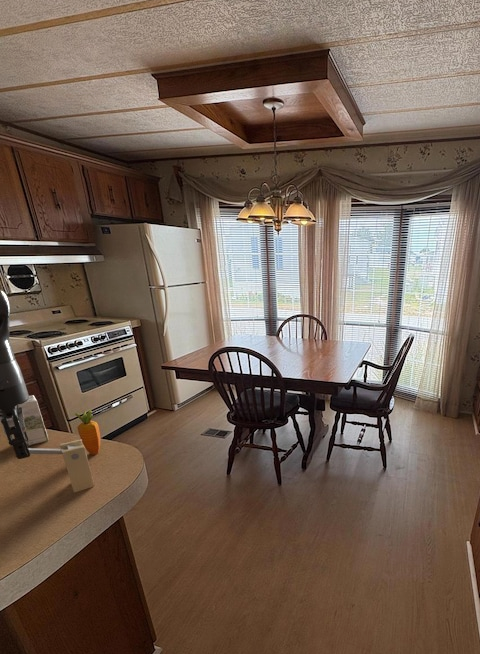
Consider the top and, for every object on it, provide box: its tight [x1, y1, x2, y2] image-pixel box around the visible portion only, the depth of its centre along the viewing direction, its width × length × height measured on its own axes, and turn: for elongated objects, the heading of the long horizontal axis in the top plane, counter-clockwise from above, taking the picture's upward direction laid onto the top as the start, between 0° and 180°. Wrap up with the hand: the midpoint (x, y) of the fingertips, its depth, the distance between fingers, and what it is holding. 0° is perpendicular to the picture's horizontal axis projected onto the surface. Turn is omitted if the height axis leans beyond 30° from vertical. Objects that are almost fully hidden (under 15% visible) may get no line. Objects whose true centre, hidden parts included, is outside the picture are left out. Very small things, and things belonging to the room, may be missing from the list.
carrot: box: [74, 410, 101, 456], centre depth 99 cm, size 5×5×15 cm
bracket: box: [59, 438, 95, 493], centre depth 86 cm, size 8×7×13 cm
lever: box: [15, 446, 79, 458], centre depth 81 cm, size 12×5×2 cm, turn 131°
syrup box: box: [19, 394, 50, 447], centre depth 106 cm, size 6×6×14 cm
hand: (23, 449), depth 77 cm, fingers open, 8 cm apart
